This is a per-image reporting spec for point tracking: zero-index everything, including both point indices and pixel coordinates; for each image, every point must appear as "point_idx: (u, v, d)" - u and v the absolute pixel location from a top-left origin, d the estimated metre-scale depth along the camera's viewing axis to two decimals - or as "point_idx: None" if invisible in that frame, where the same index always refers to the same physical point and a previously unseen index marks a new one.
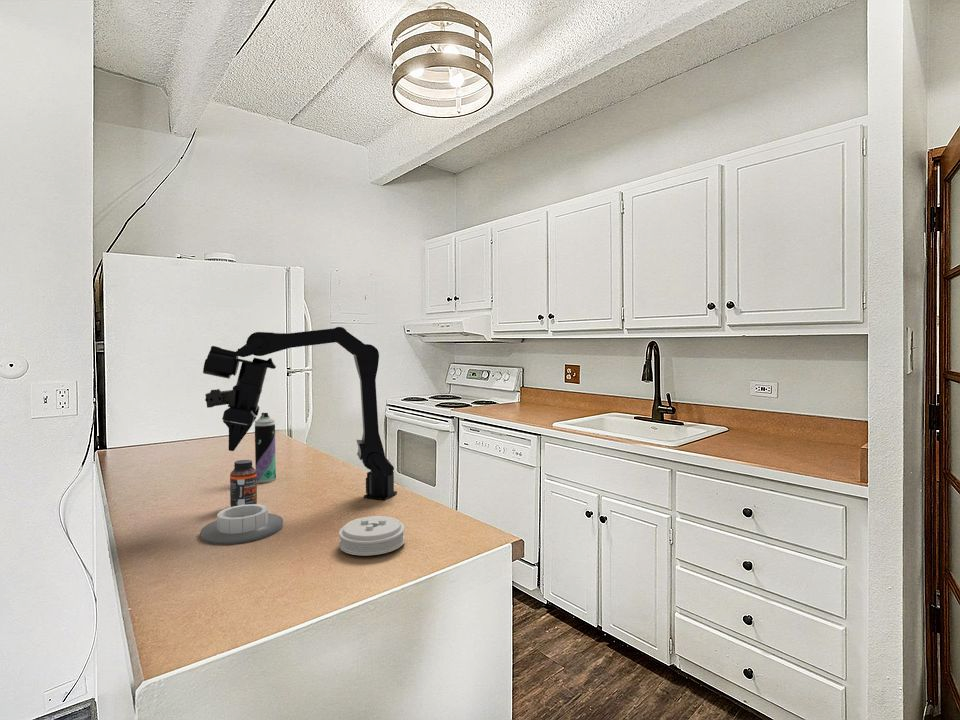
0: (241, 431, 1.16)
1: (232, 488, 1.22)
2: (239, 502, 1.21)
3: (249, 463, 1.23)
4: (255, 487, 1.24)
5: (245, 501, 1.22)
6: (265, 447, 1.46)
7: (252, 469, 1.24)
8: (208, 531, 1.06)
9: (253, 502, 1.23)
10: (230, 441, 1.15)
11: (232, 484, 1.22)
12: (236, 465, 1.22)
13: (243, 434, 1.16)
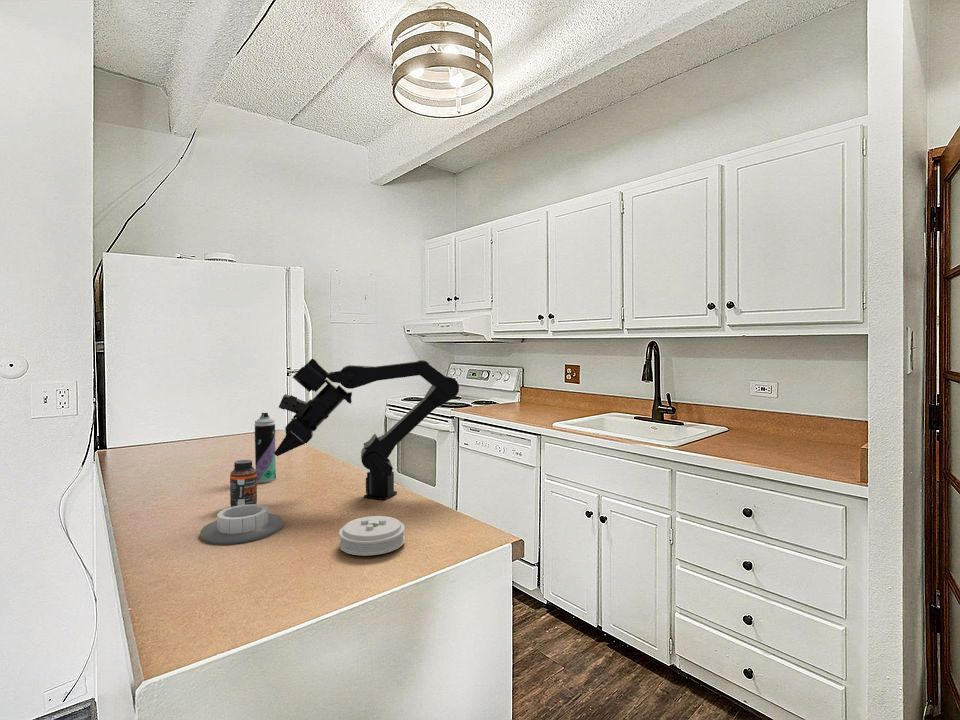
0: (294, 443, 1.21)
1: (232, 488, 1.22)
2: (239, 502, 1.21)
3: (249, 463, 1.23)
4: (255, 487, 1.24)
5: (245, 501, 1.22)
6: (265, 447, 1.46)
7: (252, 469, 1.24)
8: (208, 531, 1.06)
9: (253, 502, 1.23)
10: (280, 447, 1.21)
11: (232, 484, 1.22)
12: (236, 465, 1.22)
13: (294, 447, 1.21)
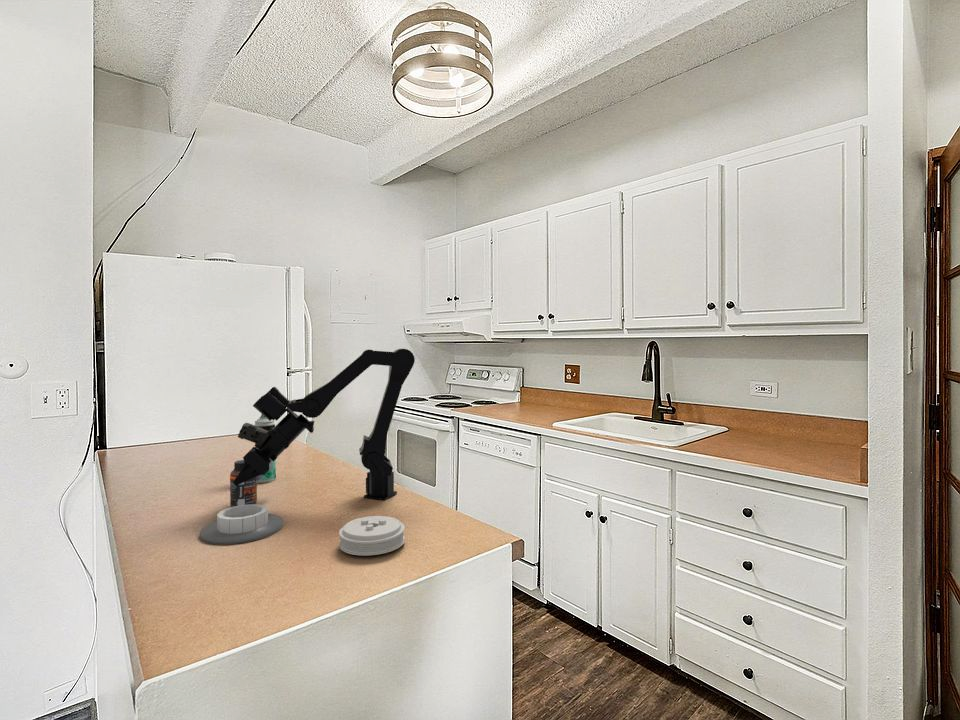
0: (252, 473, 1.20)
1: (232, 488, 1.22)
2: (239, 502, 1.21)
3: None
4: (255, 487, 1.24)
5: (245, 501, 1.22)
6: None
7: None
8: (208, 531, 1.06)
9: (253, 502, 1.23)
10: (238, 476, 1.20)
11: (232, 484, 1.22)
12: (236, 465, 1.22)
13: (252, 476, 1.20)
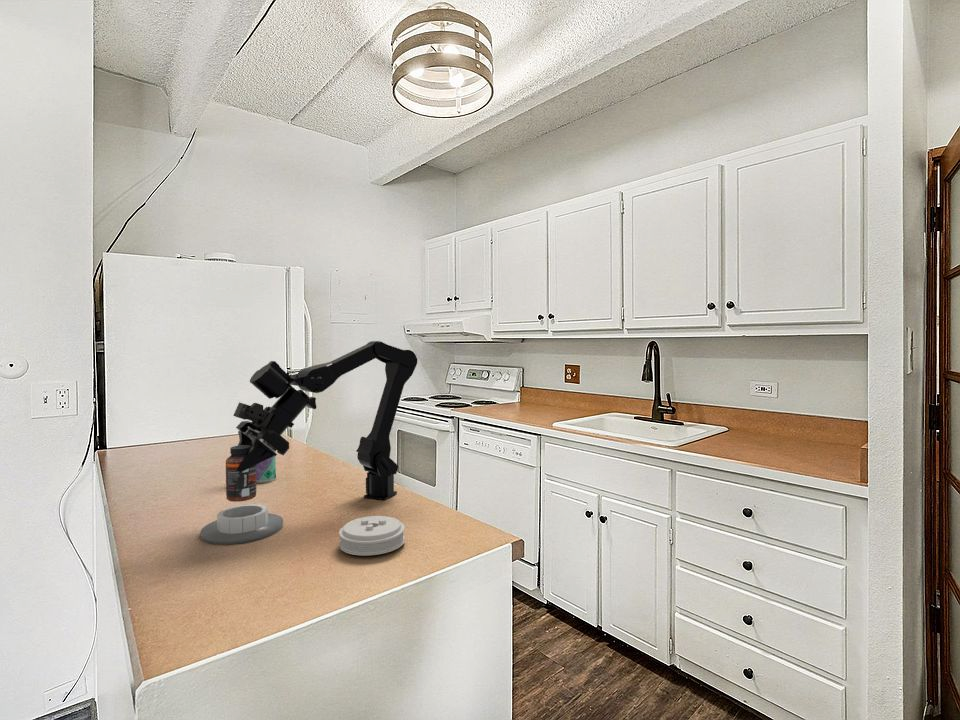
0: (262, 456, 1.08)
1: (233, 477, 1.07)
2: (244, 492, 1.07)
3: (250, 448, 1.10)
4: None
5: (250, 490, 1.08)
6: None
7: None
8: (208, 531, 1.06)
9: (255, 491, 1.10)
10: (245, 461, 1.07)
11: (233, 473, 1.07)
12: (236, 451, 1.08)
13: (262, 459, 1.08)
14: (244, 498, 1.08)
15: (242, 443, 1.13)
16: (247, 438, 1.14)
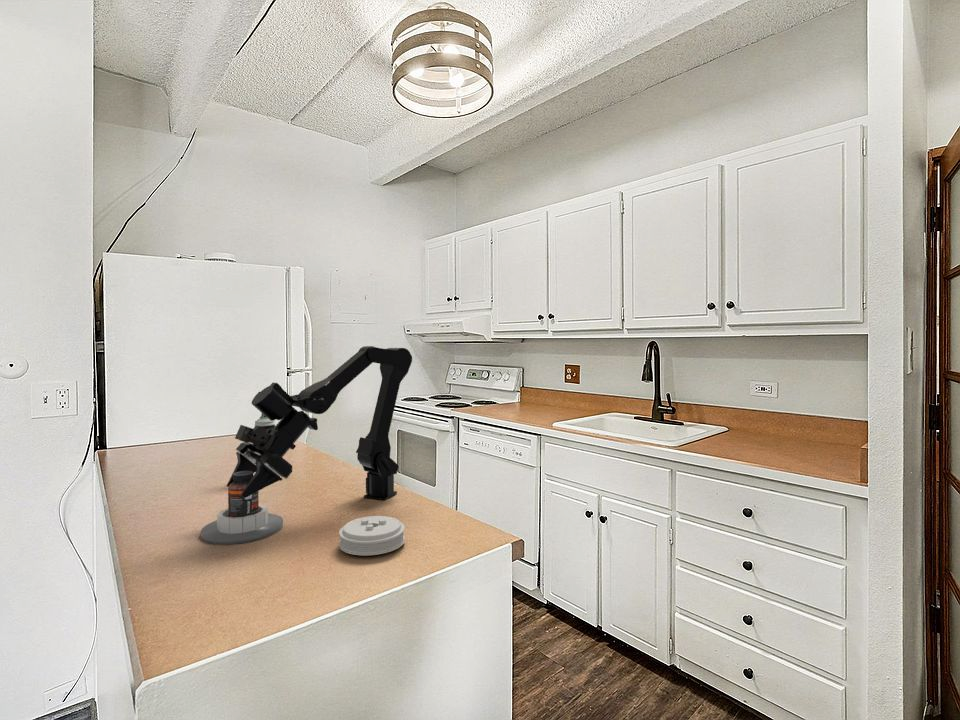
0: (267, 480, 1.06)
1: (236, 504, 1.06)
2: None
3: (252, 474, 1.09)
4: None
5: None
6: None
7: None
8: (208, 531, 1.06)
9: None
10: (250, 486, 1.05)
11: (236, 500, 1.06)
12: (239, 478, 1.07)
13: (267, 484, 1.06)
14: None
15: (240, 464, 1.13)
16: (245, 459, 1.14)
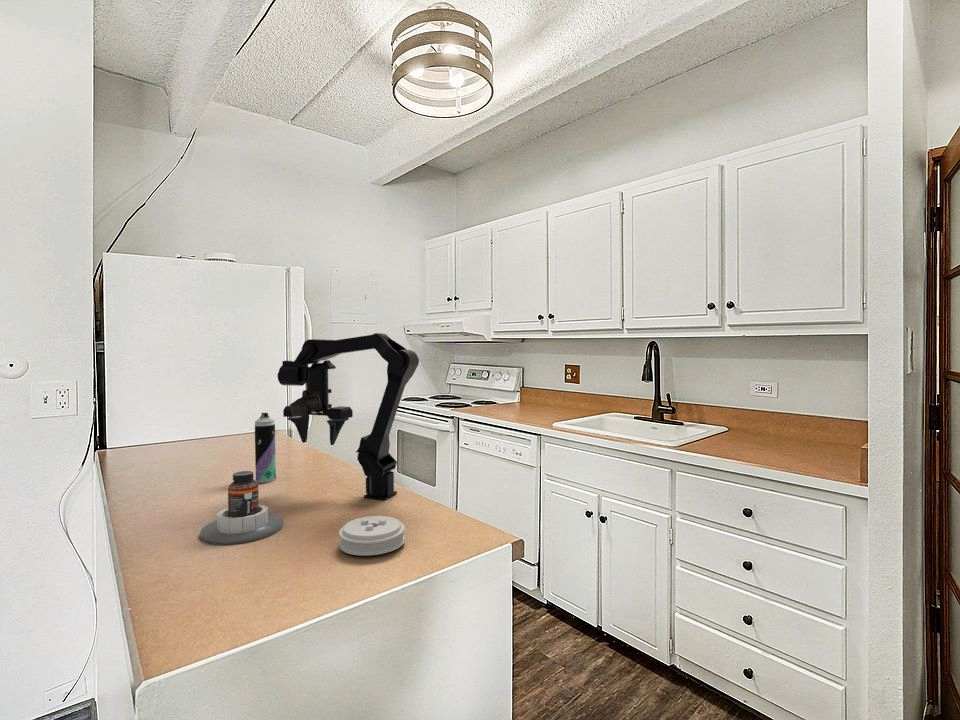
0: (339, 425, 1.36)
1: (236, 504, 1.06)
2: None
3: (252, 474, 1.09)
4: None
5: None
6: (265, 447, 1.46)
7: None
8: (208, 531, 1.06)
9: None
10: (333, 437, 1.34)
11: (236, 500, 1.06)
12: (239, 478, 1.07)
13: (340, 427, 1.36)
14: None
15: (300, 424, 1.37)
16: (299, 418, 1.37)
